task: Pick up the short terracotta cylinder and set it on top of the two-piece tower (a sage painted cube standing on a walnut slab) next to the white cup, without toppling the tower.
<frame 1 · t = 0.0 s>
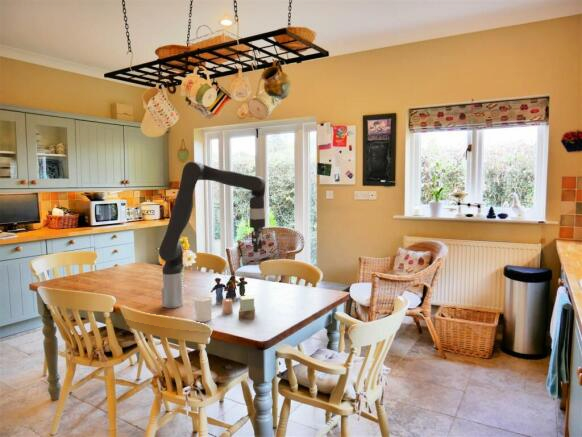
hand: (257, 250, 203), 29 cm above the table, fingers open, 8 cm apart
white cup: (203, 319, 192), on the table
terracotta cylinder: (227, 312, 202), on the table
doll family: (229, 300, 222), on the table
walnut base: (247, 317, 195), on the table, touching sage cube
sage cube: (247, 309, 195), point 4 cm above the table, touching walnut base
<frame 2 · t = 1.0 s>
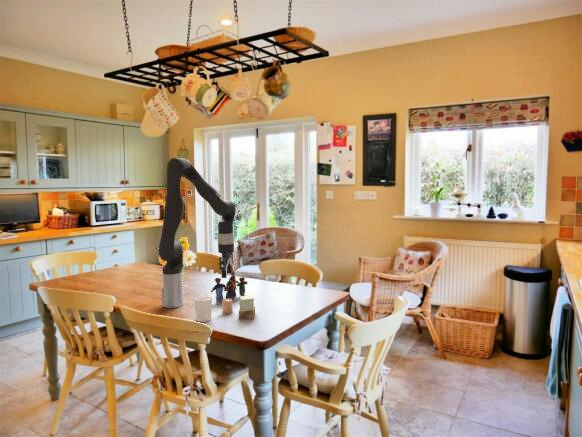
hand: (226, 275, 200), 18 cm above the table, fingers open, 8 cm apart
nothing on the table moved.
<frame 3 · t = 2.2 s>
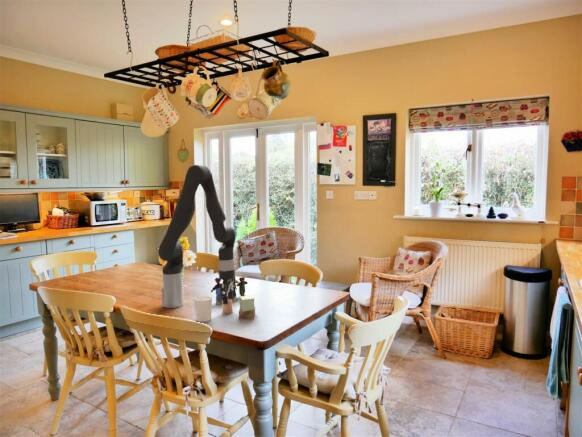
hand: (228, 301, 201), 5 cm above the table, fingers open, 8 cm apart
nothing on the table moved.
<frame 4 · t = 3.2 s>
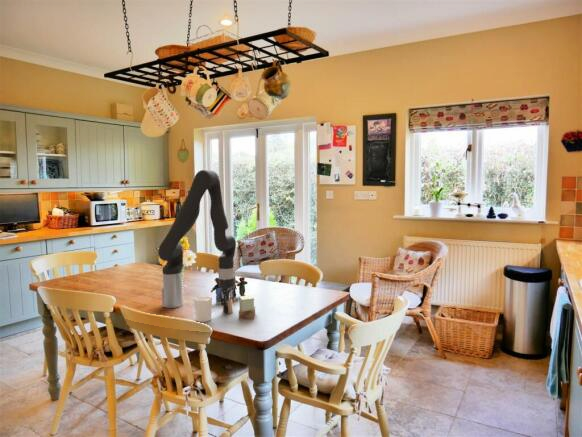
hand: (227, 311, 202), 1 cm above the table, fingers closed on terracotta cylinder, 4 cm apart
terracotta cylinder: (227, 312, 202), on the table, touching gripper
everything else where it was.
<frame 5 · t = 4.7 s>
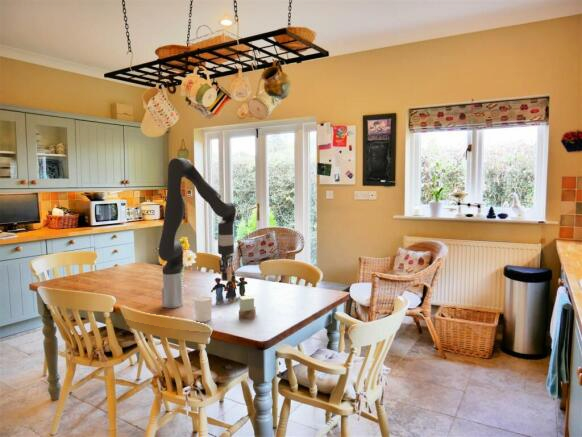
hand: (226, 278, 200), 17 cm above the table, fingers closed on terracotta cylinder, 4 cm apart
terracotta cylinder: (226, 279, 200), point 16 cm above the table, touching gripper
everything else where it was.
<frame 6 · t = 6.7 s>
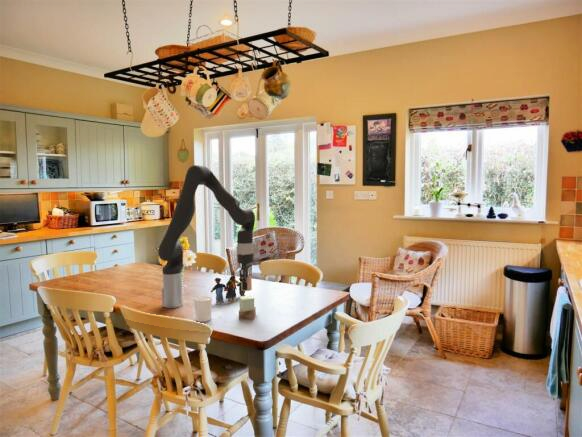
hand: (246, 288, 194), 14 cm above the table, fingers closed on terracotta cylinder, 4 cm apart
terracotta cylinder: (246, 289, 194), point 13 cm above the table, touching gripper
everything else where it was.
when the fingers open (11 cm above the table, at t = 7.6 s): terracotta cylinder drops 1 cm, resting on sage cube.
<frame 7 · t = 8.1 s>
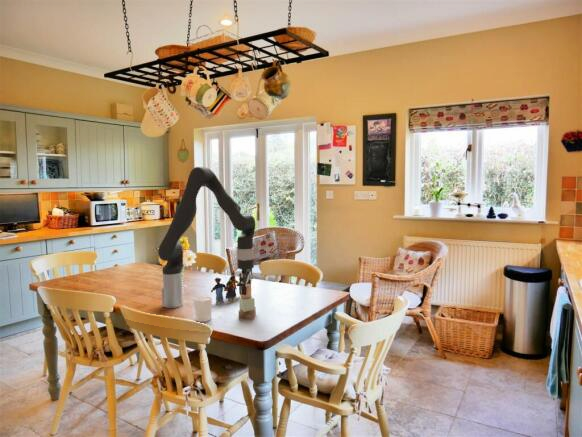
hand: (246, 292, 194), 12 cm above the table, fingers open, 8 cm apart
terracotta cylinder: (246, 297, 194), point 9 cm above the table, touching sage cube
sage cube: (247, 309, 194), point 4 cm above the table, touching terracotta cylinder, walnut base
everything else where it was.
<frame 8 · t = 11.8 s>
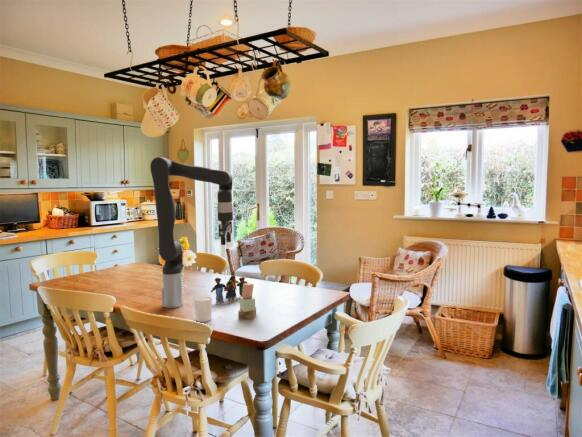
hand: (226, 243, 209), 32 cm above the table, fingers open, 8 cm apart
terracotta cylinder: (246, 296, 194), point 10 cm above the table, tilted 9°, touching sage cube
everything else where it was.
at the end: terracotta cylinder 0.4 cm off-centre on the sage cube, point 5.9 cm above the sage cube's base; sage cube tilted 1°; terracotta cylinder tilted 11° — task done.
